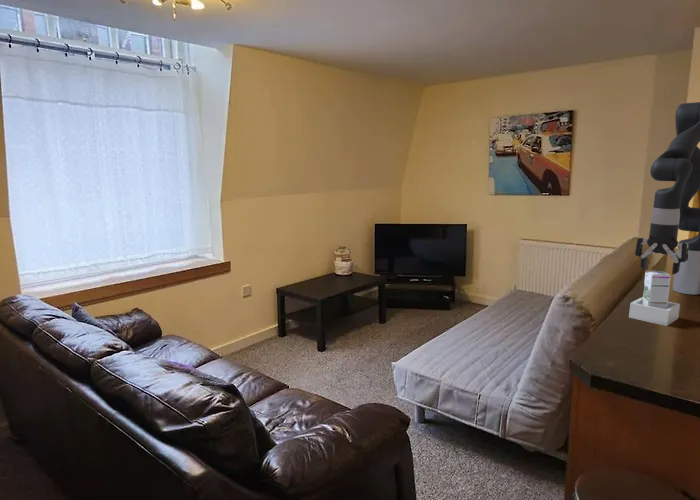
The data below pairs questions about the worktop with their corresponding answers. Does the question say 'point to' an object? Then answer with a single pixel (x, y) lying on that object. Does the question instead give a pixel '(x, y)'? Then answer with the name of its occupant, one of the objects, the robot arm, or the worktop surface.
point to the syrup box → (656, 289)
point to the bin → (654, 312)
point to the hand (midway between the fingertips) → (658, 271)
